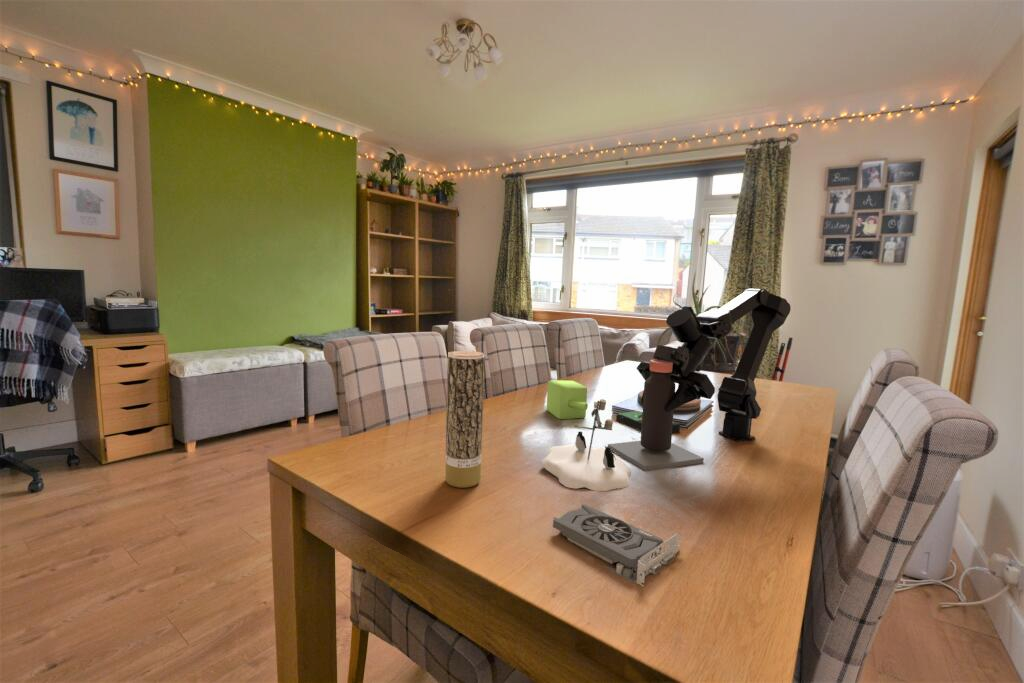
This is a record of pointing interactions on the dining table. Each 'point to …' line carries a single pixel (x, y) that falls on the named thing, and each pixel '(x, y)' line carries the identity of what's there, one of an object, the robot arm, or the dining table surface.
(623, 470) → the figurine
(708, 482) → the dining table surface
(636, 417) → the disk drive
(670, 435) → the brown bottle
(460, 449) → the paper tube
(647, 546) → the graphics card
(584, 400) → the gearbox
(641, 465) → the mat
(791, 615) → the dining table surface
